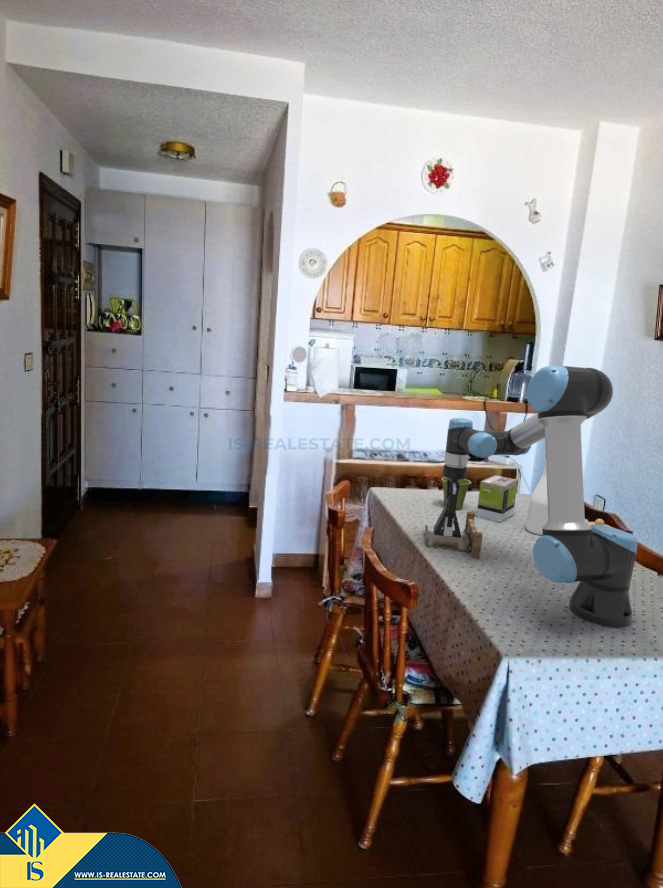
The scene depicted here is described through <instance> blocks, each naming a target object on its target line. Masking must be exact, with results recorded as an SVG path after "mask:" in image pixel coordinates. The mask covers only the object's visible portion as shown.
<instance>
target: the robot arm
mask: <svg viewBox="0 0 663 888" xmlns="http://www.w3.org/2000/svg"><path fill="white" fill-rule="evenodd" d="M613 395H614V386H613V383H612V381H611V379H610V378H609V376H608V375H607V374H606V373H604V372H603V371H602V370H599V369H598V368H597V369H596V368H593V367H579V366H578V367H577V366H569V365H568V366H567V365H562V364H561V365H560V364H559V365H547V366H543V367H541V368H539V369H538V370H537V371H536V372H535V373H534V374H533V376H532V377H531V378H530V381H529V383H528V385H527V392H526V400H527V403H528V405H529V406H530V408H531V409H532V410H533V411H535V412H536V413H535V414H534V415H532V416H530V417H528V418H527V419H525V420H523V421H521V423H519V424H517V425H515V426H514V427H512V428H510V429H508V430H478V429H474V426H473V421H472V420H471V419H468V418H462V417H454V418H453V417H452V418H451V419H449V423H448V428H447V433H446V434H447V436H446V443H445V445H446V446H445V451H444V460H443V462H444V465H443V467H442V468H443V469H442V470H443V471H442V476H443V477H447V478H448V481H447V489H446V499H447V498H448V507H447V514H446V515H444V517H446V519H445V522H444V524H443V527H442V529H444V536H452V532H453V530H454V518H455V516H457V512H456V511H457V509H456V505H457V497H458V491H459V487H460V484H459V482H458V480H459V479H467V478H466V477H467V470H468V468H467V466H468V463H469V461H468V460H470V459H471V456H469V454H471V455H473V456H475V457H477V458H483V459H486V458H490V457H491V456H520V455H521V456H523V455H525V454H528V453H529V451H530V450H531V448H532V446H533V445H535V444H536V443H538V442H540V441H541V440H543V439H544V443H545V444H544V445H545V455H546V458H545V460H546V474H547V499H548V522H547V523H546V524H545V525H544V526H543V527H542V533H543V535H540V537H538V538H537V539H536V540H535V543H534V544H533V548H532V555H533V560H534V564H535V566H536V568H537V570H538V572H540V574H541V575H542V576H543V577H544V578H545V579H546V580H547V581H550V582H551V583H555V584H556V583H557V584H559V583H560V584H571V583H575V582H579V583H578V584H577V586H576V588H575V589H574V591H573V593H572V594H571V596H570V599H569V604H568V609H569V610H570V611H571V612H572V614H574V615H575V616H577V617H579V618H580V619H582V620H584V621H587V622H588V623H592V624H596V625H598V626H604V627H611V628H620V627H621V628H623V627H627V626H628V625H630V624H631V623H632V622H631V621H632V619H633V618H632V617H633V609H632V604H631V597H630V587H631V582H632V581H631V580H632V576H633V572H634V566H635V561H636V556H637V554H638V551H637V550H638V540H637V538H636V536H634V535H633V534H631V533H629V532H626V531H624V530H621V529H618V528H616V527H613V528H612V526H611V527H608V526H604V525H596V524H594V525H591V526H589V525H588V524H587V523H586V522H587V521H586V517H585V516H586V515H585V495H584V472H583V451H582V446H583V445H582V424H583V423H584V422H585V421H586V420H588V419H591V418H592V417H594V416H596V415H598V414H599V413H601V412H603V411H604V410H605V409H606V408H607V407H608V406H609V405H610V403H611V401H612V398H613ZM445 505H446V500H445ZM455 513H456V515H455Z"/></svg>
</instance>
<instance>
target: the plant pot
mask: <svg viewBox="0 0 663 888" xmlns="http://www.w3.org/2000/svg"><path fill="white" fill-rule="evenodd" d="M441 481H442V482H441V483H442V490H443V506H444V507H445V500H446V489H447V481H448V478H447V477H445V476H443V477H441ZM458 482H459V484H460V487H459V491H458V497H457V505H456V510H461V509H463V506H464V503H465V498H466V495H467V492H468V490H469V488H470V484H472V482H471V480H469V479H467V478H464V479H459V480H458Z"/></svg>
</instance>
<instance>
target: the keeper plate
mask: <svg viewBox="0 0 663 888" xmlns="http://www.w3.org/2000/svg"><path fill="white" fill-rule="evenodd" d="M424 534H425V535H424V543H425V546H426V547H425V548H430V547H433V548H432V549H438V548H441V549H440V550H447V549H448V551H455V550H457V552H463V551H465V552H466V553H469V552H470V541H469V538H468V534H467V531H466V530H465V528H464V529H463V532H462V534H461V538H457V537H449V536H441V535H434V531H429V526H428V524H425V525H424Z"/></svg>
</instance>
